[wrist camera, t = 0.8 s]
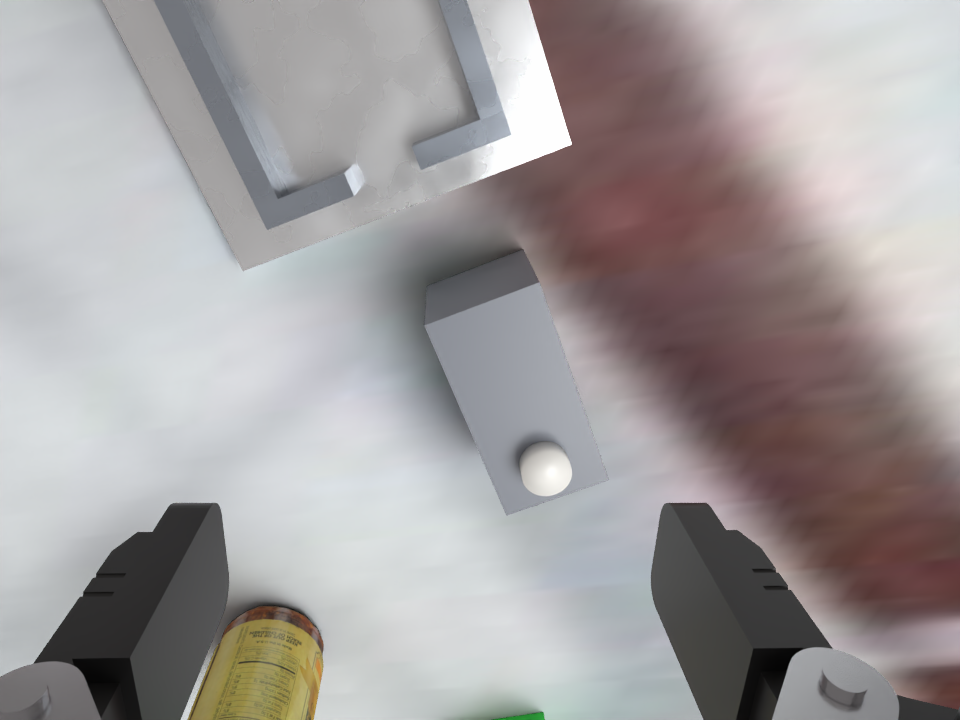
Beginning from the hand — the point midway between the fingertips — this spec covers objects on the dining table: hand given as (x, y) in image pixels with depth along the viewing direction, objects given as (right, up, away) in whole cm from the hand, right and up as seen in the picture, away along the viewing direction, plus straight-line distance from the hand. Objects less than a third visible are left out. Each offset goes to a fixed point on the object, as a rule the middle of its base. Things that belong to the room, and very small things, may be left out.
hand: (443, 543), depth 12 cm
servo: (+2, +4, +23) cm, 23 cm away
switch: (-6, +18, +16) cm, 25 cm away
